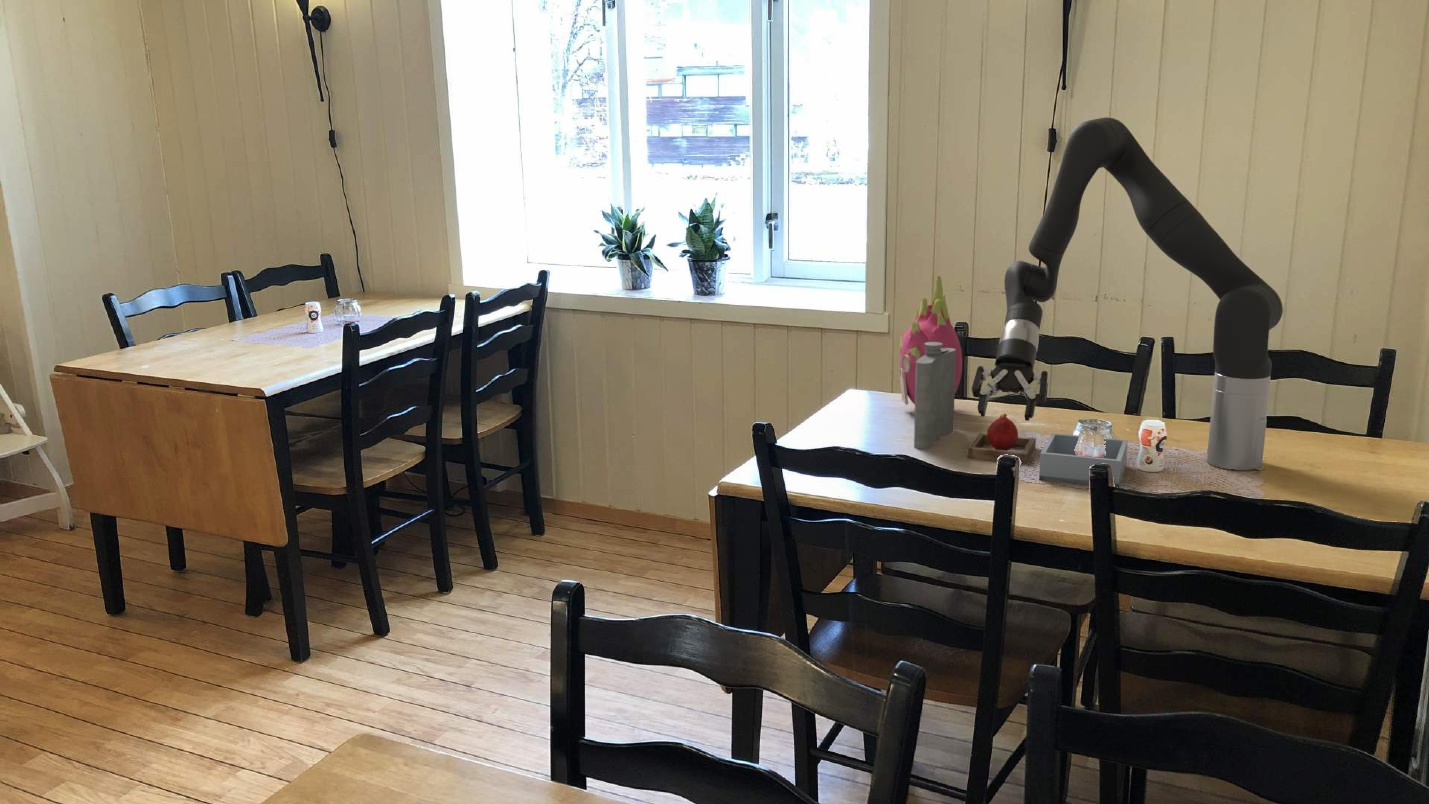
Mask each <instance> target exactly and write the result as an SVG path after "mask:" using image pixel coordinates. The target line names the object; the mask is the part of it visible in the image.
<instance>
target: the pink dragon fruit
mask: <svg viewBox="0 0 1429 804" xmlns="http://www.w3.org/2000/svg"><path fill="white" fill-rule="evenodd" d="M942 281H943V280H942V277H941V276H940V275H938V276H937V277H936V283H935V288H934V292H933V296H932V301H931V302H930V303H931V304H929V305H928V299H927V298H926V297H924V298H923V299H922V300H921V302H920V306H919V307H920V308H918V307H917V308H916V313H917V314H916V317H915V320H914V321H913V322H912V324H911V325H910V326H909V328H908V329H907V330H906V332H905V333H904V334H903V335H900V339H899V354H900V356H899V357H900V358H899V369H898V370H899V371H898V372H899V373H898V374H899V382H900V383H899V384H900V393H901V401H902V402H903V403H904V404H905V405H906V406H907V405H909V400H910V401H911V403H913V405H915V378H916V361H917V360H918V359H919V358H921V357H922V356H924V355H926V353H925V349H926V348H924V343H927V342H939V343H942V344H943V348H953V349H956V365H955V394H956V393H957V390H958V388H959V386H960V382H961V378H962V372H963V354H962V347H961V344H960V339H959V337H958V335H957V333H956V330H955V327H954V326H953V325H952V323H951V318H950V315H949V311H948V305H947V301H946V294H944V292H943V290H944V289H943V284H942ZM941 349H942V348H941Z"/></svg>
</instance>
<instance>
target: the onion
mask: <svg viewBox="0 0 1429 804" xmlns="http://www.w3.org/2000/svg"><path fill="white" fill-rule="evenodd" d="M1007 416H1008V414H1006V413H1005V412H1003V413H1000V415H999V417H998V418H997V419H995V420H994V421H993V422H992V423H991V424H990V425H989V427H988V430H987V433H986V434H987V436H988V441H989V443H990V445H989V446H991V447H992V449H997V450H1007V451H1010V449H1011V448H1014V447H1013V446H1014V445H1015V443H1016V442H1017V439H1018V437H1019V432H1018V431H1019V430H1018V429H1017V426H1016V424H1015V423H1014V422H1013V421H1012V420H1011V419H1009V418H1008V417H1007Z"/></svg>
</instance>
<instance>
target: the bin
mask: <svg viewBox="0 0 1429 804" xmlns="http://www.w3.org/2000/svg"><path fill="white" fill-rule="evenodd" d="M1078 436H1079V435H1076V434H1075V435H1074V434H1065V433H1064V434H1063V433H1054V432H1053V433H1051V434H1050V435H1049V437H1048V438H1047V441H1046V443H1045V444H1044V446H1043V448H1042V450H1041V452H1040V454H1039V457H1040V458H1039V475H1038V476H1039V477H1038V480H1039V481H1040V480H1041V481H1046V482H1047V481H1048V482H1056V483H1065V484H1066V483H1067V484H1076V485H1083V486H1090V485H1089V467H1090V466H1092V465H1093V464H1096V463H1111V464H1112V472H1113V477H1114V484H1115V487H1119V488H1120V487H1121V486H1120V485H1121V482H1122V480H1123V476H1124V473H1125V470H1126V467H1127V454H1128V442H1129V440H1128V439H1121V438H1119V439H1117V438H1110V437H1108V439H1104V441H1106V443H1105V444H1104V445H1106V446H1105V447H1106V448H1105V451H1106V456H1104V458H1097V457H1087V456H1077V455H1076V454H1075V451H1074V449H1075V446H1076V444H1077V441H1078V438H1079V437H1078Z"/></svg>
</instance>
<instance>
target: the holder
mask: <svg viewBox="0 0 1429 804" xmlns="http://www.w3.org/2000/svg"><path fill="white" fill-rule="evenodd" d="M1036 441H1037V438H1036V437H1035V438H1034V437H1025V436H1018V439H1017V442H1016V443H1015V445H1014V446H1013V447H1012V448H1014V449H1015V448H1017V449H1022V451H1015V450H1014V451H1013V450H997V449H994V448H985V447H983V446H984V445H985V446H987V445H988V446H991V445H990V443H989V441H988V436H987V433H983V432H982V433H981V432H979V433H978V435H977V436H976V437H975V438H974V440H973V441H972V442H971V444H970V445H969V446H967V459H972V460H973V459H975V460H980V461H981V460H984V461H991V462H992V461H993V462H997V461H996V460H997V458H998V457H999V456H1000V455H1004V454H1008V455H1015V456H1017V457H1019V458H1020V460H1021V462H1022V464H1021V465H1027V463H1028V461H1029V460H1030V458H1031V456H1032V455H1033V453H1034V451H1035V450H1036V446H1037V445H1036V443H1037V442H1036Z"/></svg>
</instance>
